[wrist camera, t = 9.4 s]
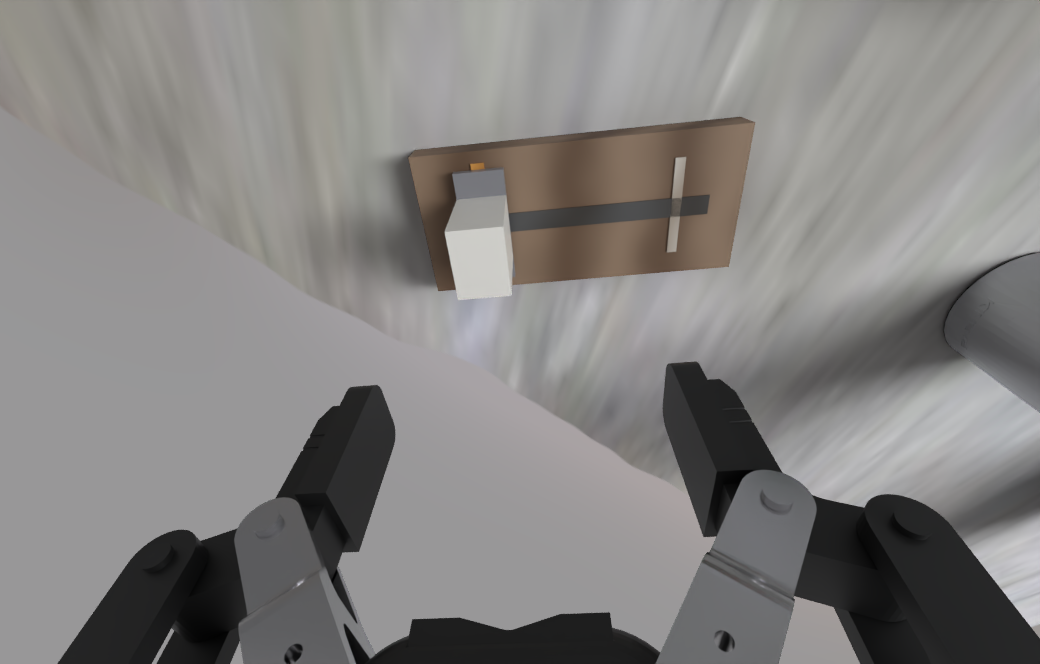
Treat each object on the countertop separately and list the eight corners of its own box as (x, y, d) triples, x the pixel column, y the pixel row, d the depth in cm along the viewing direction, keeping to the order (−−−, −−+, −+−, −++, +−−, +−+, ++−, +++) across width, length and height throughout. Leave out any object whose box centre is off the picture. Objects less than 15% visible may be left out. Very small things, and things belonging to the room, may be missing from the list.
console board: (740, 117, 27) (755, 122, 25) (717, 254, 32) (729, 267, 30) (415, 150, 28) (407, 158, 26) (442, 278, 33) (438, 291, 31)
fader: (503, 167, 26) (499, 196, 22) (515, 273, 30) (514, 318, 25) (453, 172, 26) (438, 202, 22) (471, 277, 30) (462, 322, 26)
